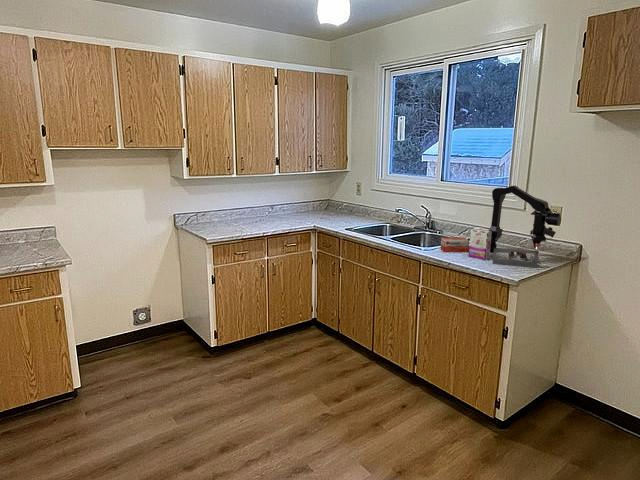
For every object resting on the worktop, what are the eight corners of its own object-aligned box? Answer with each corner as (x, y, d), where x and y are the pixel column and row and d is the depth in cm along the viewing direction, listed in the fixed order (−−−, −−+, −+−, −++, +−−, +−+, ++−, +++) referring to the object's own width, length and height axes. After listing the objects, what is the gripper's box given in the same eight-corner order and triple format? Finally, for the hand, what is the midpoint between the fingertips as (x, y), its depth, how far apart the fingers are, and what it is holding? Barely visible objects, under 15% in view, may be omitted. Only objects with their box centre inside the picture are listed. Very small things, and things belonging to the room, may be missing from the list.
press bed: (492, 263, 235) (494, 248, 233) (492, 261, 241) (493, 245, 239) (536, 268, 227) (538, 251, 225) (535, 265, 233) (537, 249, 231)
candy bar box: (489, 258, 245) (492, 231, 242) (485, 260, 242) (488, 232, 239) (472, 255, 254) (474, 228, 250) (467, 256, 251) (470, 229, 247)
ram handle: (533, 260, 238) (535, 243, 236) (532, 259, 241) (534, 241, 239) (539, 261, 237) (541, 243, 235) (538, 259, 240) (540, 242, 238)
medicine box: (443, 252, 260) (444, 240, 258) (440, 249, 268) (440, 237, 266) (468, 252, 260) (469, 240, 258) (464, 249, 268) (464, 237, 266)
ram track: (532, 262, 237) (532, 261, 237) (530, 256, 250) (530, 255, 250) (539, 263, 236) (539, 262, 236) (537, 257, 249) (537, 256, 248)
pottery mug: (525, 265, 234) (518, 252, 234) (510, 269, 242) (503, 256, 241) (533, 256, 242) (526, 243, 241) (518, 260, 249) (511, 247, 249)
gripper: (558, 227, 227) (554, 255, 230) (552, 221, 244) (549, 247, 247) (535, 225, 231) (531, 253, 234) (531, 220, 248) (528, 245, 251)
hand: (536, 250), depth 241 cm, fingers closed
